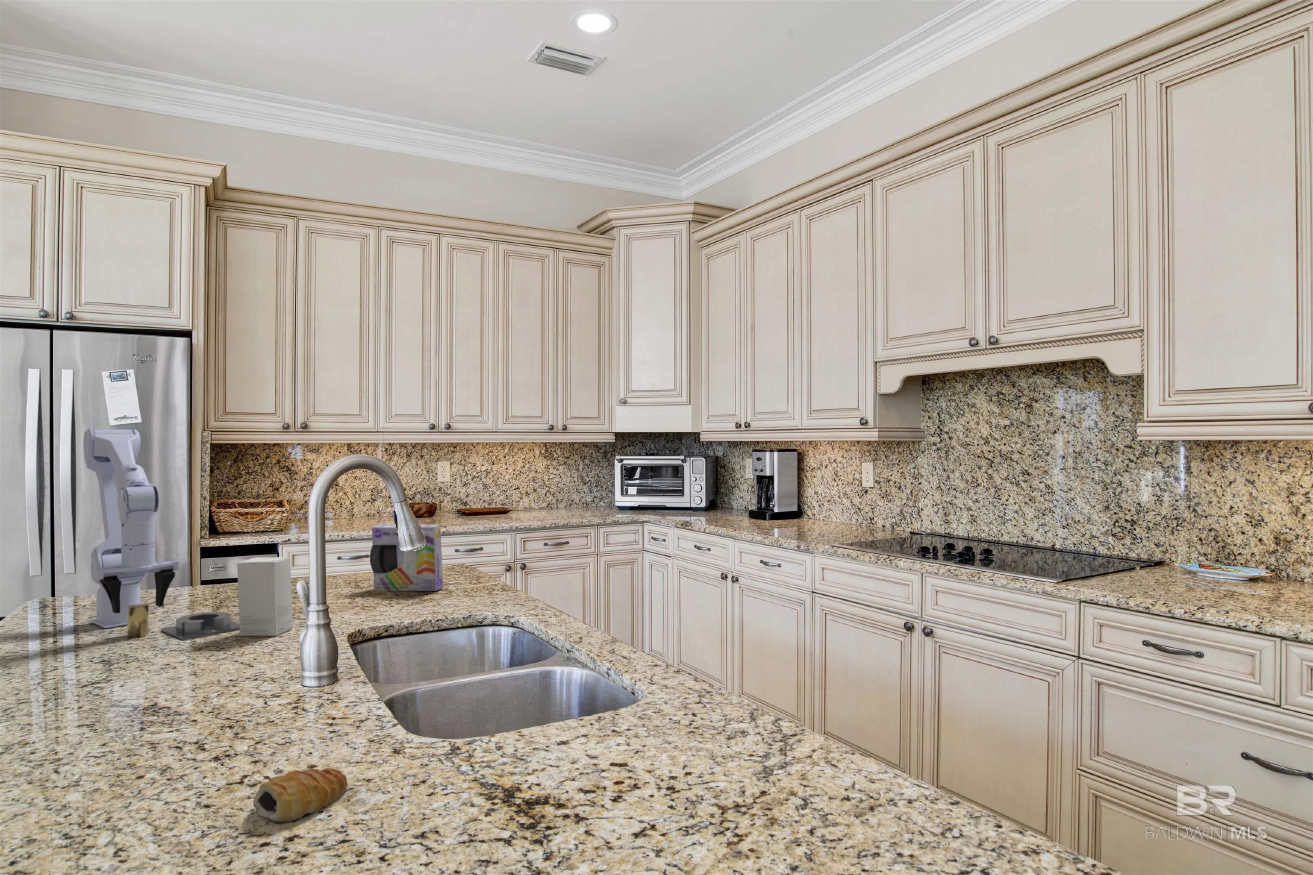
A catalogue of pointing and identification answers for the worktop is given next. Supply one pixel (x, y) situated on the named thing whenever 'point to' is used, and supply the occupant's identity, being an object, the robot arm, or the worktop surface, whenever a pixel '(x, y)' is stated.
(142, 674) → the worktop surface
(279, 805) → the pastry
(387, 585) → the cake pan box
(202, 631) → the hub plate
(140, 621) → the gold metal block
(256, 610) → the skincare box
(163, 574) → the robot arm
